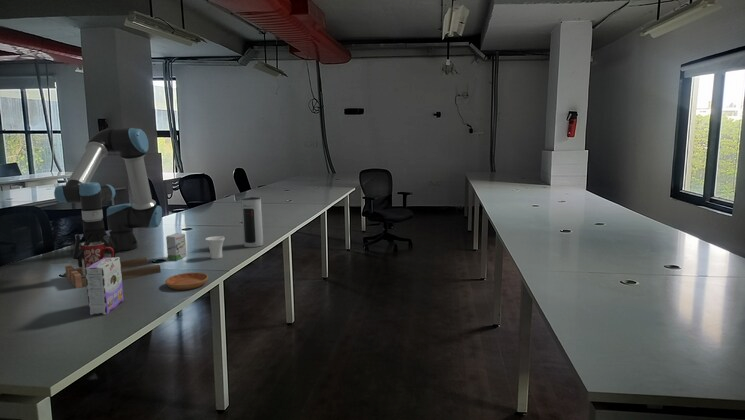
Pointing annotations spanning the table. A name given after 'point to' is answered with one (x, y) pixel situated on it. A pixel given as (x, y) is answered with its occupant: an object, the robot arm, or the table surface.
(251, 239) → the speaker
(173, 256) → the ink box
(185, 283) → the saucer
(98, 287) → the candy box
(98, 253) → the mug
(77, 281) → the guide channel
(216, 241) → the cup
